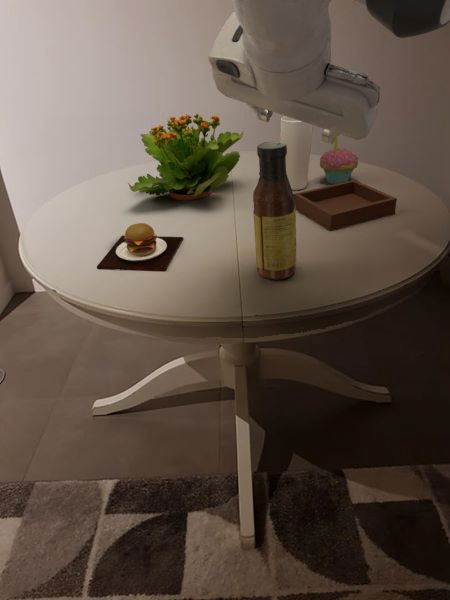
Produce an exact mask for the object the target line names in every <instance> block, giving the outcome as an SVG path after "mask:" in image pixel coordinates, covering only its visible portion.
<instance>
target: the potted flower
mask: <svg viewBox="0 0 450 600" xmlns="http://www.w3.org/2000/svg"><path fill="white" fill-rule="evenodd" d="M209 119H210V120H212V121H210V120H205V119H203V116H202V115H200V114H199V113H196V114H195V115H193V116H191V115H190V114H185V115H181V116H179V117H178V118H176V117H175V116H171V117H169V119H167V120H166V121H167V124H166V125H167V130H166V129H165V128H164V127H165V126H164V125H161V124H158V126H152V127H151V128H150V131H149V132H148V133H140V134H139V135H140V137H141V142H142V143H143V146H144V147H146V148H145V149H144V152H145V153H147V154H148V155H149V156H151V158H153V159H154V160H155V161H158V163H159V164H157V167H156V171H157V172H158V173H159V176H155V177H154V176H152V175H151V174H150V173H146V176H145V175H141V176H138V178H137V181H138V182H135V183H134V184H133V185H131V184H130V182H127V184H128V186H129V189H130V191H132V192H133V193H135V192H138V193H145V194H149V195H150V196H154V195H155V196H161V195H162V196H164V195H165V194H166V193H169V196H170V197H171V198H173V199H175V200H178V201H194V200H198V199H202V198H204V197H207V196H209V195H210V194H211V192H212V190H213V189H215V188H219V187H220V186H222V185H223V184H224V183H226V182H227V181H228V178H229V177H230V175H229V174H230V172H231V171H232V170H233V169H234V168H235V167H236V166H237V164H238V162H239V161H240V158H241V155H240V152H239V151H236V150H233V151H231V152H226V151H227V150H228V149H229V148H231V147H232V146H233V145H234V144H236V143H237V142H238V141H240V140H242V138H243V136H244V133H245V131H244V130H243V131H242V132H241V134H240V133H238V132H232V133H231V131H229V130H227V131H225V132H224V133H223V132H220V133H219V134H218V136H217V138H216V137H215V132H216V129H217V127H218V126H219V127H220V125H221V122H220V120H221V119H220V116H218V115H212V116H211V117H210V118H209ZM192 123H194V124H195V125H196V126H197V128H196V127H194V125H192ZM190 124H191V126H189V125H190ZM211 128H212V129H213V132H212V134H211V135H210V137H209V139H210V140H208V141H207V140H206V138H208V136H209V133H208V132H210V131H211ZM167 131H168V132H167ZM201 133H202V135H203V136H202V137H201V138H200V135H201ZM225 152H226V153H225ZM224 153H225V154H224ZM223 154H224V155H223Z"/></svg>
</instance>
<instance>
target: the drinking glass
mask: <svg viewBox="0 0 450 600" xmlns="http://www.w3.org/2000/svg"><path fill="white" fill-rule="evenodd" d="M313 130H314V125H311V124H308V123H305V122H302V121H299V120H296V119H293V118H290V117H287V116H284V115H283V116H282V117H281V118H280V131H279V132H280V142H284V143H285V144H286V146H287V154H286V158H285V159H286V174H287V177H288V180H289V183H290V186H291V189H292V191H300V190H304V189H305V188H307V186H308V177H309V170H310V169H309V168H310V161H311V160H310V159H311V152H312V142H313Z"/></svg>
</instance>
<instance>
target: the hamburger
mask: <svg viewBox="0 0 450 600" xmlns="http://www.w3.org/2000/svg"><path fill="white" fill-rule="evenodd" d="M183 241H184V236H157V234H156V233H155V230H154V229H153V227H152V226H151V225H149V224H148V223H146V222H145V223H144V222H137V223H134V224H131V225H129V226H128V227H126V230H125V231H124V235H121V236H120V237H119V239H118V240H116V242H115V243H114V244H113V246H112V247H111V248H110V249H109V250H108V252H107V253H106V254H105V255H104V257H103V258H102V259H101V260H100V262H99V263H98V264H97V265H96V269H97V270H115V269H120V270H119V271H145V272H146V271H147V272H166V271H167V269H168V268H169V266H170V264H171V263H172V261H173V259H174V257H175V255H176V253H177V252H178V250H179V248H180V246H181V244H182V243H183ZM122 269H123V270H122Z"/></svg>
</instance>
